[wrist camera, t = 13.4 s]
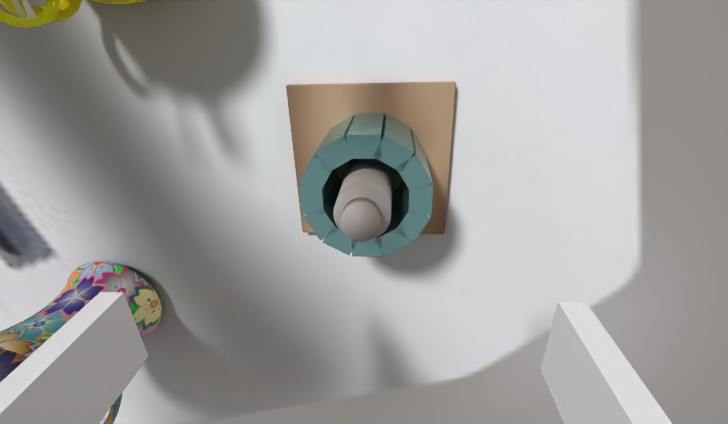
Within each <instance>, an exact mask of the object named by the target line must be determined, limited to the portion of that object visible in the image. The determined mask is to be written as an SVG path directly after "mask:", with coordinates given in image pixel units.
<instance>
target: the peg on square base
mask: <svg viewBox="0 0 728 424" xmlns="http://www.w3.org/2000/svg"><path fill="white" fill-rule="evenodd" d="M455 87H456V82H409V83H359V84H309V85H287V86H286V88H287V97H288V106H289V115H290V124H291V132H292V141H293V150H294V159H295V168H296V177H297V185H298V194H299V203H300V212H301V221H302V230H303V232H314V231H313V230H312V228H311V227H310V226H309V224H308V223H307V222H306V220H305V219H304V215H305V214H302V210H301V201H300V192H299V184H300V180H301V178H302V176H303V174H304V172H305V170H306V168H307V166H308V164H309V162H310V160H311V158H312V156H313V154H314V153H315V151H316V150H317V148H318V147H319V145H320V144H321V142H322V141H323V139H324V138H325V136H326V135H327V133H328V132H329V130H331V128H332V127H333V126H335V125H337V124H338V123H340V122H342V121H343V120H345V119H346V118H348V117H350V116H351V115H353V114H355V116H356V114H357V113H383V112H384V117H385V116H386V114H389V115H391V116H393V117H394V118H396V119H398V120H400V121H401V122H403V123H405V124H407V125H408V126H410V129H413V131H414V133H415V135H416V136H417V138H418V140H419V142H420V144H421V145H422V147H423V149H424V151H425V155H426V159H427V163H428V167H429V171H430V175H431V179H432V183H433V198H432V215H430V220H429V221H428V222H427V224H426V225H425V227H424V228H423V229H422V231H421V232H420V234H444V232H445V219H446V206H447V192H448V179H449V166H450V153H451V140H452V126H453V113H454V100H455ZM338 176H339V177H340V179H341V180H342V182H343V183H342V186H341V189H340V192H339V195H338V197H337V200H336V203H335V206H334V211H333V216H334V220H335V223H336V225H337V227H338V228H339V229H340V231H341V232H342V233H344V234H345V235H346V236H347V237H348V238H350V239H352V240H354V241H359V242H364V241H368V240H371V239H374V238H376V237H378V236H380V235H381V234H382V233H384V232H385V230H386V229H387V228H388V226H389V224H390V220H391V198H392V192H393V191H395V190H397V188H398V187H399V185H400V183H401V182H402V180H403V179H402V177H401V175H400V174H399V172H398V170H396V169H394V168H392V167H391V166H389V165H387V164H385V163H383V162H382V161H380V160H378V159H351V160H349V161H347V162H346V163H344V164H342V165H340V166H339V167H338Z"/></svg>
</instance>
